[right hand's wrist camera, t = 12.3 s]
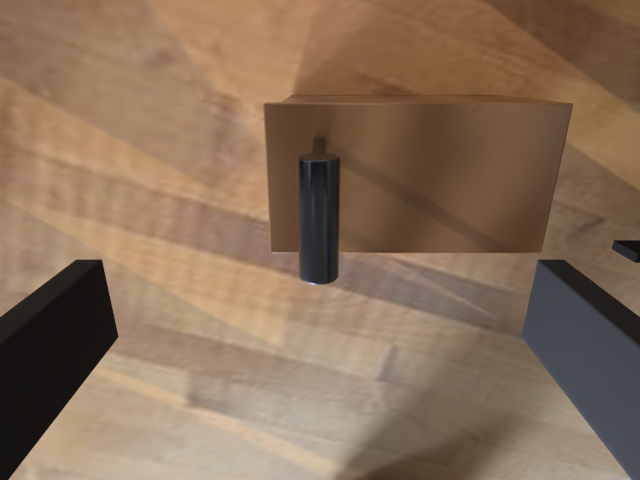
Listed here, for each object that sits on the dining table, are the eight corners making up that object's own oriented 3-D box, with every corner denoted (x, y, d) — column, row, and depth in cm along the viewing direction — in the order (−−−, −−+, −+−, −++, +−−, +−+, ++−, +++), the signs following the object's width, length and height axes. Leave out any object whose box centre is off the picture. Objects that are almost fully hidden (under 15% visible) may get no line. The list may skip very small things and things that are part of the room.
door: (272, 247, 29) (251, 318, 21) (265, 102, 26) (237, 115, 17) (533, 247, 29) (621, 318, 21) (563, 102, 26) (685, 115, 17)
